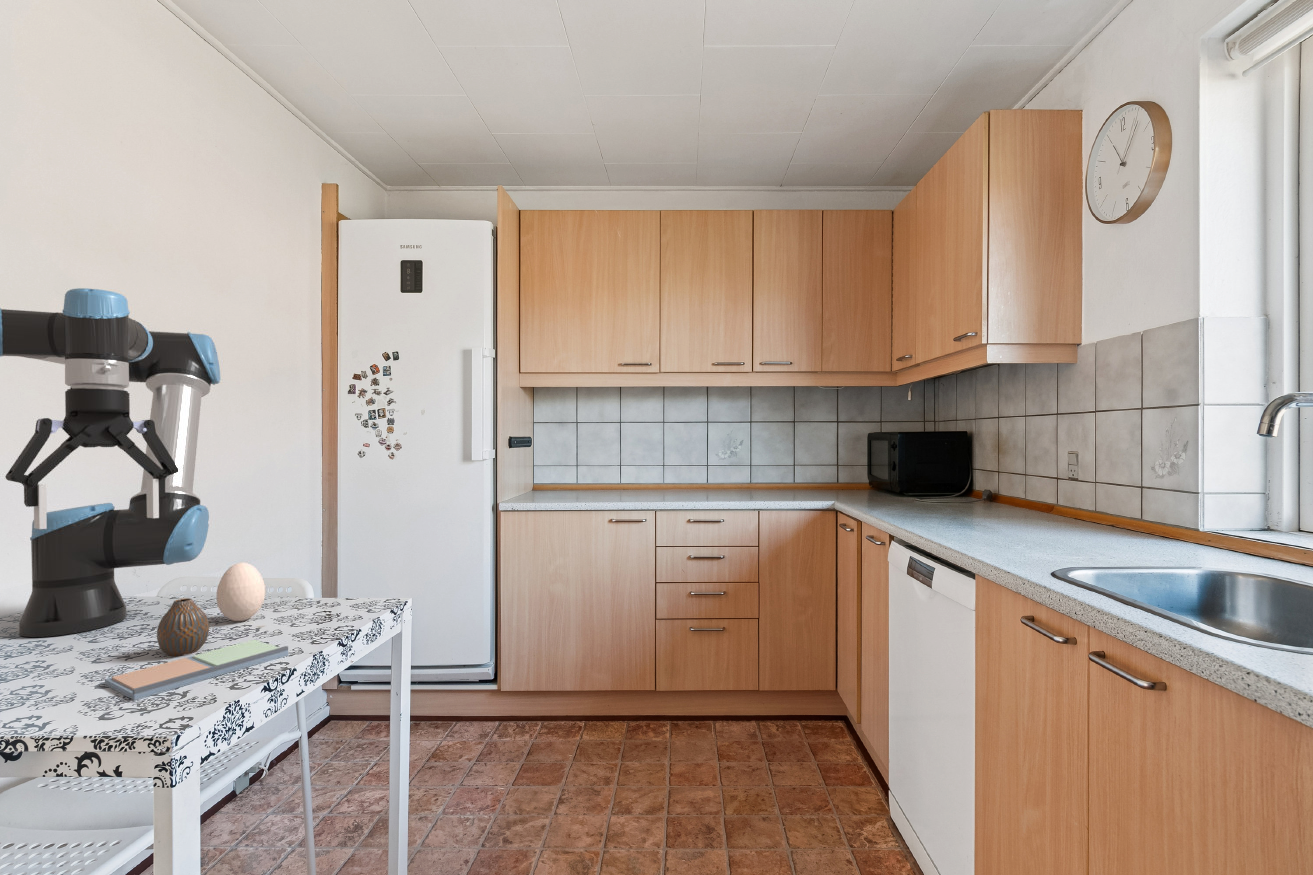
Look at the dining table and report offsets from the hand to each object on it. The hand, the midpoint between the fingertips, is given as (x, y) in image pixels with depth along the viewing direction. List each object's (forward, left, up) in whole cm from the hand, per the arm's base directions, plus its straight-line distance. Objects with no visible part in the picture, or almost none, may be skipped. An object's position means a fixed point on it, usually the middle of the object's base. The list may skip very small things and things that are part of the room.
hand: (100, 522), depth 96 cm
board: (+16, +7, -23) cm, 29 cm away
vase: (+4, +9, -23) cm, 25 cm away
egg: (-8, +23, -23) cm, 34 cm away
